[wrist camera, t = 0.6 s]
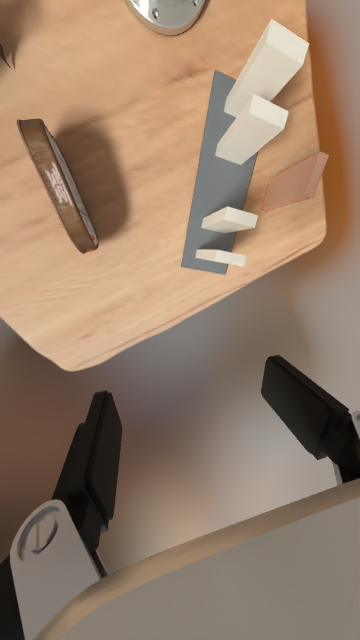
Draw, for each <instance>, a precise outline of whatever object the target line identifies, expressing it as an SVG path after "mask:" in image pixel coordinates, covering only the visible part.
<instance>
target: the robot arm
mask: <svg viewBox="0 0 360 640" xmlns="http://www.w3.org/2000/svg"><path fill="white" fill-rule="evenodd" d="M126 2H127V4H128V5H129V7H130V9H131V10H132V11H133V12H134V14H135V15H136V16H137V17H138V19H139V20H140V21H141V22H143V23H144V24H145V25H146V26H147V27H148V28H150V29H152V30H153V31H155V32H157V33H160V34H163V35H177V34H180V33H183V32H184V31H185V30H187V29H188V28H190V27H191V26H192V24H193V23H194V22H195V21H196V20H197V18H198V16H199V14H200V13H201V11H202V9H203V6H204V3H205V0H126ZM261 394H262V396H263V397H264V399H265V400H266V401H267V402H268V404H269V405H270V406H271V407H272V408H273V410H274V411H275V412H276V413H277V415H278V416H279V417H280V418H281V420H282V421H283V422H284V423H285V424H286V426H287V427H288V428H289V429H290V431H291V432H292V433H293V434H294V435H295V437H296V438H297V439H298V440H299V442H300V443H301V444H302V445H303V446H304V448H305V449H306V450H307V451H308V452H309V453H311V454H313V455H314V457H315V458H316V459H317V460H319V459H322V458H325V457H327V456H328V457H329V458H330V459H331V460H332V463H333V468H334V472H335V476H336V481H337V485H338V486H336V487H333V488H331V489H328V490H325V491H322V492H320V493H317V494H314V495H311V496H309V497H306V498H303V499H301V500H298V501H295V502H292V503H290V504H287V505H284V506H282V507H279V508H276V509H273V510H271V511H268V512H265V513H263V514H260V515H257V516H255V517H252V518H249V519H247V520H244V521H241V522H238V523H236V524H233V525H230V526H228V527H225V528H223V529H220V530H217V531H215V532H212V533H209V534H207V535H204V536H201V537H199V538H196V539H194V540H191V541H188V542H185V543H183V544H180V545H178V546H175V547H172V548H170V549H167V550H165V551H163V552H160V553H157V554H155V555H153V556H150V557H148V558H145V559H143V560H140V561H138V562H135V563H133V564H130V565H128V566H126V567H124V568H122V569H120V570H118V571H116V572H114V573H112V574H109V575H108V573H107V570H106V569H105V566H104V565H103V563H102V560H101V559H100V557H99V555H98V553H97V551H96V549H97V547H98V546H99V539H100V538H99V537H100V533H101V532H104V531H107V530H108V523H109V520H111V519H112V518H113V515H114V506H115V496H116V486H117V477H118V467H119V458H120V447H121V438H122V425H121V421H120V418H119V415H118V412H117V409H116V406H115V403H114V400H113V396H112V394H111V393H108V392H107V391H102V392H97V393H95V394H94V396H93V400H92V403H91V406H90V409H89V412H88V415H87V418H86V421H85V423H81V424H80V425H79V426H78V427H77V430H76V433H75V435H74V438H73V441H72V444H71V446H70V449H69V452H68V455H67V458H66V461H65V463H64V466H63V469H62V472H61V475H60V477H59V480H58V483H57V486H56V489H55V491H54V494H53V497H52V500H51V501H48V502H47V503H44V504H42V505H41V506H40V507H38V508H37V509H36V510H35V511H34V512H33V513H32V514H31V515H30V516H29V517H28V518H27V519H26V521H25V522H24V523H23V525H22V526H21V528H20V529H19V531H18V533H17V535H16V537H15V539H14V541H13V544H12V548H11V552H10V555H9V556H8V557H7V558H6V559H5V560H4V561H3V562H2V563H1V564H0V640H360V411H355V412H353V413H352V415H351V414H350V413H349V412H348V411H349V409H348V408H347V407H345V406H344V405H343V404H342V403H340V402H339V401H338V400H336V399H335V398H334V397H333V396H331V395H330V394H329V393H327V392H326V391H325V390H324V389H322V388H321V387H319V386H318V385H317V384H316V383H315V382H313V381H312V380H311V379H309V378H308V377H307V376H306V375H304V374H303V373H302V372H300V371H299V370H298V369H296V368H295V367H294V366H292V365H291V364H290V363H289V362H287V361H286V360H285V359H284V358H282V357H281V356H279V355H276V356H271V357H268V359H267V360H266V364H265V371H264V376H263V383H262V388H261Z"/></svg>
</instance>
